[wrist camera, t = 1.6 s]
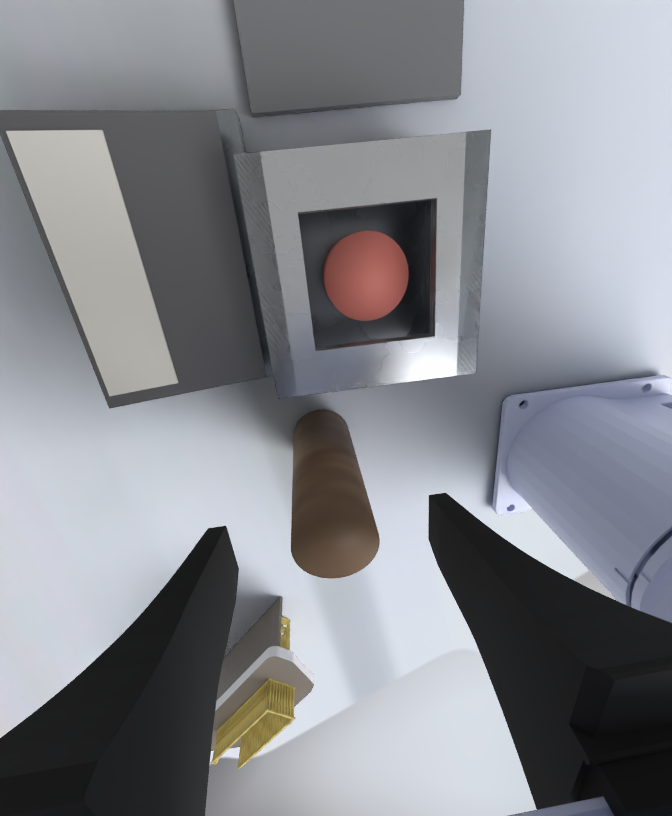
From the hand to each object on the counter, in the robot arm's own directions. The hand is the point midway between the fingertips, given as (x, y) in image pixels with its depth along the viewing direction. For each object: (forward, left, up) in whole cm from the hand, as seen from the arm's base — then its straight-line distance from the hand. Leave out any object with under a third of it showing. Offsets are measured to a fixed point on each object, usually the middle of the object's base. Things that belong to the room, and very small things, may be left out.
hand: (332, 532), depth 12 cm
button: (-3, -8, -6) cm, 10 cm away
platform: (+6, +15, -8) cm, 18 cm away
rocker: (+5, -9, -5) cm, 11 cm away
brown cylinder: (0, 0, -7) cm, 7 cm away
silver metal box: (+1, -9, -7) cm, 12 cm away
